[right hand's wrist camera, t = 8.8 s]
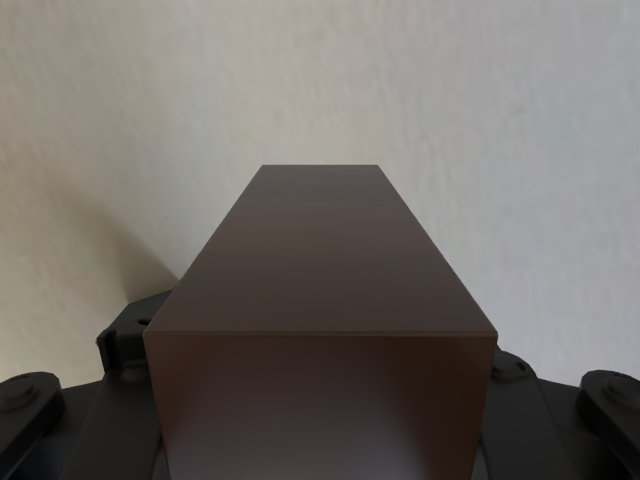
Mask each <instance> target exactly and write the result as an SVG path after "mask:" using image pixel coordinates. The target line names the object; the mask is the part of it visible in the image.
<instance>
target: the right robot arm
mask: <svg viewBox="0 0 640 480" xmlns="http://www.w3.org/2000/svg"><path fill="white" fill-rule="evenodd" d="M153 318H154V316H139V317H134V318H129V319H125V320H123V321H120V322H117V323H115V324H113V325H111V326H110V327H108V328H107V329H105V330H103V331H102V333H101V334H100V335H99V336H98V337H97V342H98V347H99V351H100V355H101V359H102V363H103V368H104V372H105V374H104V377H103V379H102V380H100V381H96V382H93V383H88V384H84V385H79V386H74V387H69V388H65V389H62V388H61V385H60V381H59V379H58V378H57V377H56V376H55V375H54V374H53V373H47V372H32V373H26V374H21V375H18V376H15V377H12V378H10V379H8V380H6V381H4V382H2V383H0V480H170V478H169V473H168V467H167V462H166V457H165V452H164V446H163V441H162V436H161V430H160V425H159V420H158V414H157V409H156V404H155V399H154V393H153V388H152V383H151V377H150V372H149V367H148V361H147V356H146V351H145V346H144V340H143V332H144V331H145V329H146V328H147V326H148V325H149V324H150V322H151V321H152V319H153ZM471 480H640V381H639V380H637V379H635V378H633V377H631V376H629V375H626V374H623V373H622V374H621V373H619V372H614V371H606V370H595V371H589V372H587V373H586V374H585V375H584V376H583V377H582V379H581V383H580V386H579V387H574V386H570V385H565V384H560V383H555V382H551V381H547V380H543V379H540V378H537V376H536V374H535V372H534V371H533V369H532V368H531V367H530V365H529V364H528V363H526V362H525V361H524V360H522V359H521V358H519V357H518V356H515V355H513V354H511V353H508V352H506V351H501V349H500V348H499V346H498V345H497V346H496V351H495V356H494V361H493V367H492V372H491V377H490V382H489V388H488V393H487V398H486V403H485V409H484V414H483V419H482V425H481V430H480V435H479V440H478V446H477V451H476V456H475V461H474V467H473V472H472V477H471Z"/></svg>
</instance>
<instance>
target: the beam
mask: <svg viewBox="0 0 640 480" xmlns="http://www.w3.org/2000/svg"><path fill="white" fill-rule="evenodd" d="M143 340H144V346H145V351H146V356H147V361H148V367H149V372H150V377H151V383H152V388H153V393H154V399H155V404H156V409H157V414H158V420H159V425H160V430H161V436H162V441H163V446H164V452H165V457H166V462H167V467H168V473H169V478H170V480H471V477H472V472H473V467H474V461H475V456H476V451H477V446H478V440H479V435H480V430H481V425H482V419H483V414H484V409H485V403H486V398H487V393H488V388H489V382H490V377H491V372H492V367H493V361H494V356H495V351H496V346H497V340H498V332H497V331H496V329H495V328H494V326H493V325H492V324H491V322H490V321H489V319H488V318H487V317H486V315H485V314H484V312H483V311H482V310H481V308H480V307H479V305H478V304H477V303H476V301H475V300H474V298H473V297H472V296H471V294H470V293H469V291H468V290H467V289H466V287H465V286H464V284H463V283H462V282H461V280H460V279H459V278H458V276H457V275H456V273H455V272H454V271H453V269H452V268H451V266H450V265H449V264H448V262H447V261H446V259H445V258H444V257H443V255H442V254H441V252H440V251H439V250H438V248H437V247H436V245H435V244H434V243H433V241H432V240H431V238H430V237H429V236H428V234H427V233H426V231H425V230H424V229H423V227H422V226H421V224H420V223H419V222H418V220H417V219H416V218H415V216H414V215H413V213H412V212H411V211H410V209H409V208H408V206H407V205H406V204H405V202H404V201H403V199H402V198H401V197H400V195H399V194H398V192H397V191H396V190H395V188H394V187H393V185H392V184H391V183H390V181H389V180H388V178H387V177H386V176H385V174H384V173H383V171H382V170H381V169H380V167H379V166H378V165H262V166H261V167H260V169H259V170H258V172H257V173H256V175H255V176H254V177H253V179H252V180H251V182H250V183H249V184H248V186H247V187H246V189H245V190H244V191H243V193H242V194H241V196H240V197H239V198H238V200H237V201H236V203H235V204H234V205H233V207H232V208H231V210H230V211H229V212H228V214H227V215H226V217H225V218H224V220H223V221H222V222H221V224H220V225H219V227H218V228H217V229H216V231H215V232H214V234H213V235H212V236H211V238H210V239H209V241H208V242H207V243H206V245H205V246H204V248H203V249H202V250H201V252H200V253H199V255H198V256H197V257H196V259H195V260H194V262H193V263H192V265H191V266H190V267H189V269H188V270H187V272H186V273H185V274H184V276H183V277H182V279H181V280H180V281H179V283H178V284H177V286H176V287H175V288H174V290H173V291H172V293H171V294H170V295H169V297H168V298H167V300H166V301H165V302H164V304H163V305H162V307H161V308H160V310H159V311H158V312H157V314H156V315H155V317H154V318H153V319H152V321H151V322H150V324H149V325H148V326H147V328H146V329H145V331H144V332H143Z"/></svg>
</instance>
